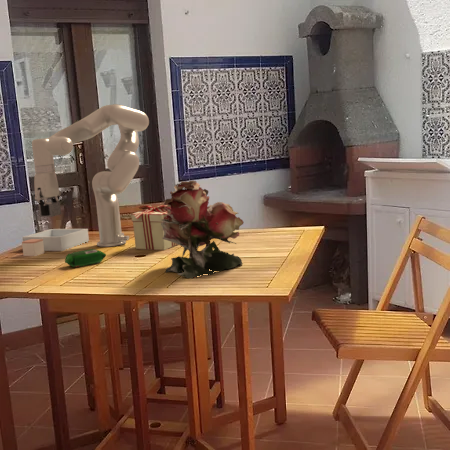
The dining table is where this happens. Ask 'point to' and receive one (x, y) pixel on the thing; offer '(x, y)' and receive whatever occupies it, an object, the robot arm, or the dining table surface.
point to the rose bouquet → (199, 230)
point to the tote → (60, 238)
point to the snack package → (84, 258)
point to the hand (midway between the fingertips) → (50, 213)
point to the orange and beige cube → (33, 247)
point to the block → (52, 209)
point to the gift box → (150, 228)
